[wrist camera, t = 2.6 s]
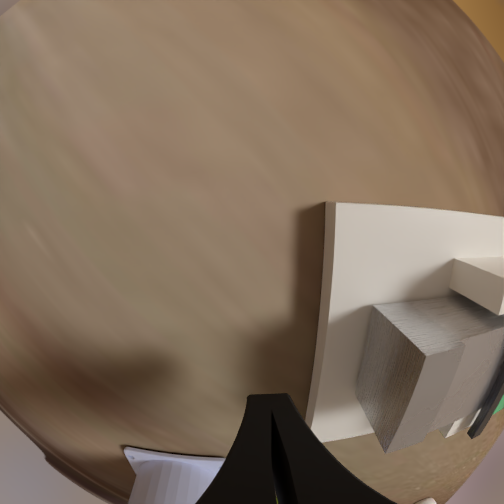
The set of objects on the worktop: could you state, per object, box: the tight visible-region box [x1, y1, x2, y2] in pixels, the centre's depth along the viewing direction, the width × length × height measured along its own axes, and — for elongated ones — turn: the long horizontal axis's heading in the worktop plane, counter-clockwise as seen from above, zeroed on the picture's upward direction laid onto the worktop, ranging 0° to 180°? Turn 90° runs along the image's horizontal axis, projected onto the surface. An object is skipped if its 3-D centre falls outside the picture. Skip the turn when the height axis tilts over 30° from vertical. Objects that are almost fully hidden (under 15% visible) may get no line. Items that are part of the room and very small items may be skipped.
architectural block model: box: [305, 201, 504, 442], centre depth 9 cm, size 20×14×10 cm
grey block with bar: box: [355, 295, 504, 454], centre depth 10 cm, size 8×9×5 cm
